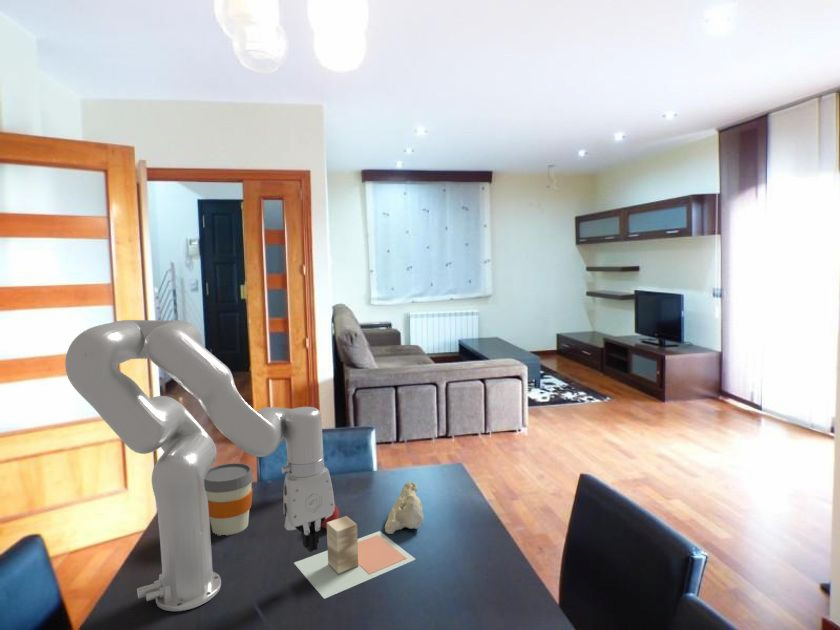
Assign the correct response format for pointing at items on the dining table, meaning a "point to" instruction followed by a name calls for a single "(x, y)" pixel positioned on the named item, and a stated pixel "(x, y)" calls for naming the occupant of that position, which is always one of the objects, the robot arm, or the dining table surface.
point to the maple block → (342, 545)
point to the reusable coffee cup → (229, 497)
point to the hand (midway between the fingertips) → (311, 548)
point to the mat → (372, 561)
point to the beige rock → (405, 510)
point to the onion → (331, 517)
